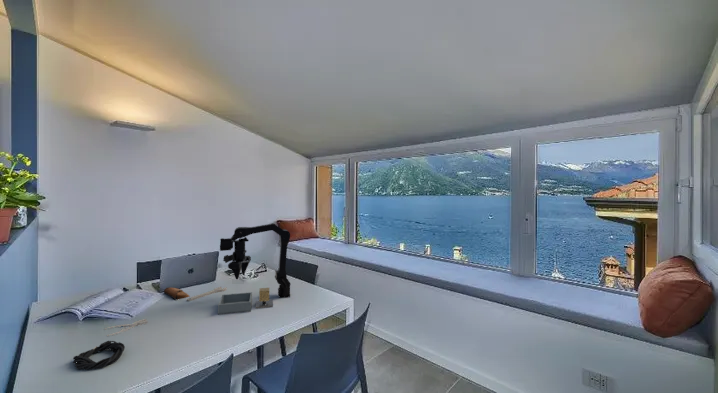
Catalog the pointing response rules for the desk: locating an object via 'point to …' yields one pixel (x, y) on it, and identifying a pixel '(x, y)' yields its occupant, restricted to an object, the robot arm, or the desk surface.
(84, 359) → the cable
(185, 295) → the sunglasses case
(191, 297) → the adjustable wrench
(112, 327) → the forked twig
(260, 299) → the wooden block
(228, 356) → the desk surface
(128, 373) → the desk surface
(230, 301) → the bin
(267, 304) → the metal ball pedestal
